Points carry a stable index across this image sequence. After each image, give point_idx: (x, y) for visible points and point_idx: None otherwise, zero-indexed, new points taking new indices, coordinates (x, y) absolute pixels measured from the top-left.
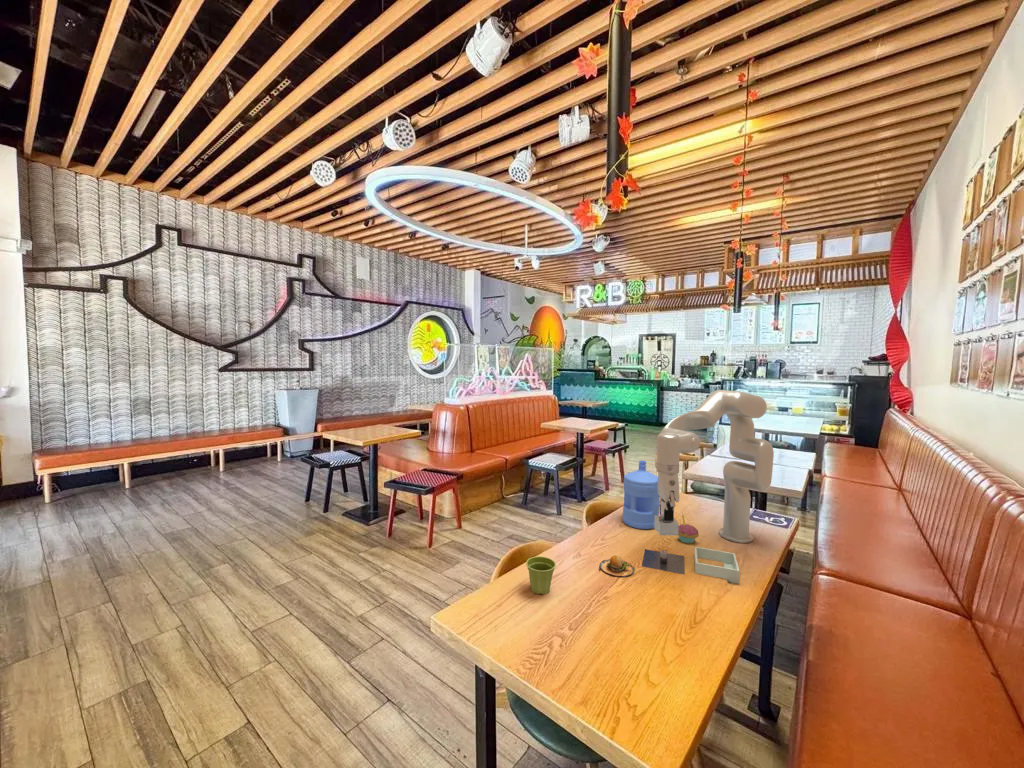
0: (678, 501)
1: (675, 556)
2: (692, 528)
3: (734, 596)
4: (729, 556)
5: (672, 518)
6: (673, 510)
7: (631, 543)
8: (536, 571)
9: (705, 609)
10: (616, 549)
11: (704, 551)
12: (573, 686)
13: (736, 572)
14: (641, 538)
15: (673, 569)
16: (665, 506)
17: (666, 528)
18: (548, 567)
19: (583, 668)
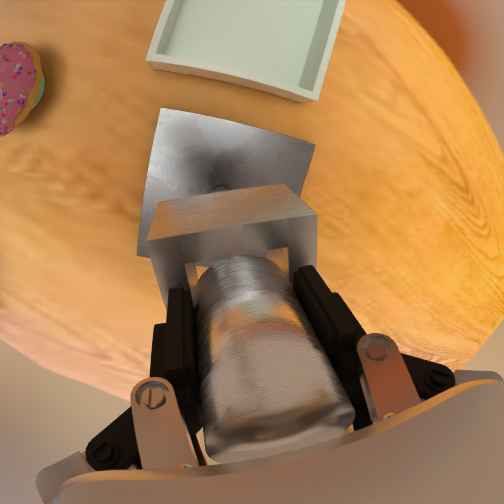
0: (501, 383)
1: (171, 144)
2: (2, 64)
3: (393, 43)
4: None
5: (316, 280)
6: (353, 328)
7: (91, 287)
8: None
9: (441, 149)
10: (153, 330)
11: (167, 25)
12: (483, 335)
13: None
14: (41, 251)
15: (283, 175)
16: (358, 415)
17: None
18: (347, 430)
19: (474, 333)
